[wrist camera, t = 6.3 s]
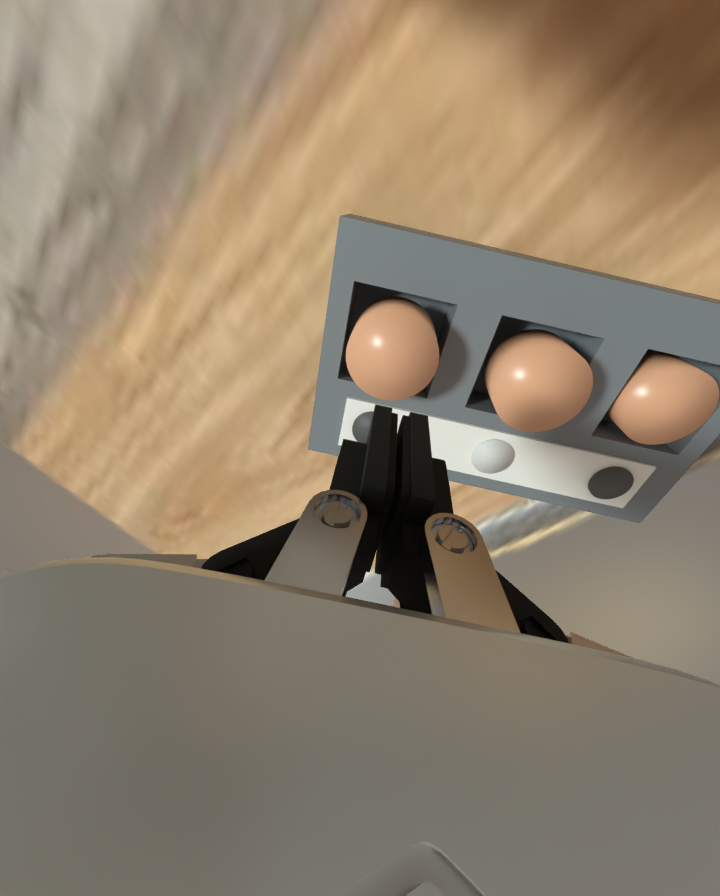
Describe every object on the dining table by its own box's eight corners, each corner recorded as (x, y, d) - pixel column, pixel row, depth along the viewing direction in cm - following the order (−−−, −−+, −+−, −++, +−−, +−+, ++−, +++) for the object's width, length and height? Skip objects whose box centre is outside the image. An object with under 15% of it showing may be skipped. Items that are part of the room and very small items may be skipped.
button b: (503, 320, 20) (516, 337, 18) (587, 339, 20) (612, 359, 18) (471, 397, 23) (479, 421, 20) (546, 414, 23) (563, 440, 20)
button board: (350, 214, 21) (338, 216, 17) (752, 307, 21) (823, 329, 18) (319, 421, 29) (306, 452, 25) (613, 486, 29) (642, 527, 26)
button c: (625, 341, 22) (654, 359, 19) (702, 359, 22) (741, 379, 19) (583, 410, 25) (603, 434, 22) (651, 426, 25) (680, 452, 22)
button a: (361, 287, 20) (354, 300, 18) (446, 307, 20) (452, 322, 18) (346, 369, 23) (338, 389, 20) (422, 386, 23) (423, 408, 20)
